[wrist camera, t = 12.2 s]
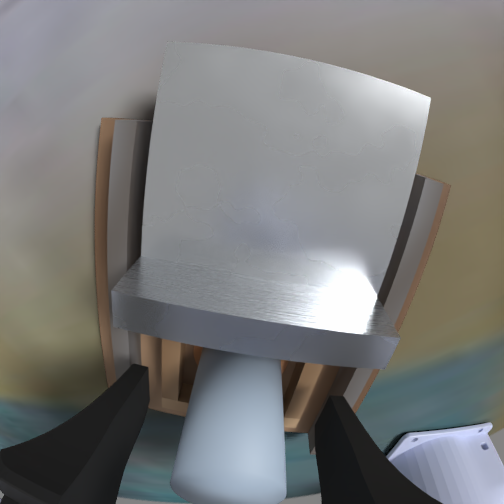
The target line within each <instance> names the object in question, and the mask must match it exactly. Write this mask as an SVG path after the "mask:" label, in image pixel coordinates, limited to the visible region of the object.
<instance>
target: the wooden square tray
mask: <svg viewBox="0 0 504 504" xmlns="http://www.w3.org/2000/svg"><path fill="white" fill-rule="evenodd" d="M152 125H153V121H151V120H138V119H123V118H102V119H101V127H100V137H99V147H98V159H97V173H96V192H95V269H96V288H97V303H98V315H99V325H100V334H101V343H102V351H103V358H104V365H105V372H106V378H107V384H108V388H109V387H110V386H111V385H112V384H113V383H115V382H116V381H117V380H118V379H119V378H120V377H121V376H122V374H123V373H124V372H125V371H126V370H127V369H128V368H129V367H130V366H131V365H132V364H138V365H142V366H146V367H149V390H150V402H149V406H148V408H149V409H153V410H157V411H161V412H166V413H170V414H175V415H179V416H184V417H186V413H187V409H188V405H189V400H190V396H191V392H192V388H193V384H194V380H195V376H196V372H197V368H198V365H199V361H200V357H201V353H202V349H203V347H201V346H195V345H190V344H185V343H181V342H176V341H171V340H167V339H162V338H158V337H153V336H149V335H145V334H140V333H136V332H132V331H128V330H124V329H120V328H116V327H113V314H112V295H111V290H112V289H113V288H114V287H115V286H116V284H117V283H118V282H119V281H120V280H121V278H122V277H123V276H124V275H125V274H126V273H127V271H128V270H129V269H130V268H131V267H132V266H133V264H134V263H135V262H136V261H137V260H138V259H139V257H140V256H141V244H142V225H143V210H144V197H145V186H146V175H147V166H148V157H149V148H150V140H151V133H152ZM450 187H451V185H449V184H446V183H444V182H441V181H438V180H435V179H432V178H429V177H426V176H423V175H420V174H417V173H415V177H414V181H413V185H412V189H411V193H410V197H409V200H408V204H407V207H406V211H405V214H404V218H403V221H402V225H401V228H400V231H399V234H398V238H397V241H396V244H395V247H394V250H393V253H392V256H391V259H390V262H389V265H388V268H387V271H386V274H385V276H384V279H383V282H382V285H381V287H380V290H379V293H378V296H377V297H378V299H379V301H380V302H381V304H382V306H383V308H384V309H385V311H386V313H387V315H388V316H389V318H390V320H391V322H392V323H393V325H394V327H395V329H396V331H397V332H398V331H399V329H400V327H401V325H402V323H403V320H404V318H405V316H406V314H407V311H408V309H409V307H410V304H411V302H412V300H413V297H414V295H415V292H416V290H417V287H418V285H419V282H420V280H421V277H422V274H423V272H424V269H425V266H426V264H427V261H428V258H429V255H430V253H431V250H432V247H433V244H434V241H435V238H436V235H437V232H438V229H439V225H440V222H441V219H442V216H443V212H444V209H445V205H446V202H447V198H448V195H449V191H450ZM379 370H380V369H369V368H356V367H343V366H332V365H322V364H313V363H304V362H296V361H288V360H281V374H282V394H283V415H284V431H287V432H300V433H308V439H309V449H310V454H316V452H315V424H316V422H317V420H318V418H319V416H320V414H321V412H322V410H323V408H324V406H325V404H326V402H327V400H328V398H329V396H330V395H333V396H344V397H345V399H346V400H347V402H348V403H349V405H350V407H351V408H352V410H353V411H354V413H356V411H357V410H358V408H359V406H360V405H361V403H362V401H363V399H364V398H365V396H366V394H367V392H368V390H369V389H370V387H371V385H372V383H373V381H374V379H375V378H376V376H377V374H378V372H379Z"/></svg>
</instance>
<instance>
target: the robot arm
mask: <svg viewBox="0 0 504 504" xmlns="http://www.w3.org/2000/svg"><path fill="white" fill-rule="evenodd" d="M149 402H150V390H149V367H146V366H142V365H138V364H132V365H131V366H130V367H129V368H128V369H127V370H126V371H125V372H124V373H123V374H122V376H121V377H120V378H119V379H118V380H117V381H116V382H115V383H113V384H112V385H111V386H110V387H109V388H108V389H107V390H106V391H105V392H104V393H103V394H102V395H101V396H99V397H98V398H97V399H96V400H95V401H93V402H92V403H91V404H90V405H89V406H87V407H86V408H85V409H84V410H82V411H81V412H79V413H78V414H77V415H75V416H74V417H72V418H71V419H69V420H68V421H66V422H65V423H63V424H61V425H59V426H58V427H56V428H54V429H52V430H51V431H49V432H47V433H45V434H42V435H40V436H38V437H36V438H33V439H31V440H29V441H26V442H24V443H21V444H18V445H15V446H11V447H8V448H5V449H1V451H0V490H1V491H2V493H4V496H3V498H2V499H1V498H0V504H116V500H117V495H118V491H119V487H120V483H121V480H122V476H123V472H124V469H125V466H126V464H127V461H128V459H129V456H130V454H131V451H132V449H133V447H134V444H135V442H136V439H137V437H138V435H139V432H140V430H141V427H142V425H143V423H144V420H145V416H146V413H147V409H148V406H149ZM491 428H492V424H491V423H484V424H478V425H472V426H466V427H459V428H452V429H444V430H435V431H425V432H413V433H407V434H405V435H404V436H403V437H402V438H401V439H400V440H399V441H398V443H397V444H396V445H395V446H394V448H393V449H392V450H391V451H390V452H389V454H388V455H387V456H385V455H384V454H383V453H382V451H381V450H380V449H379V448H378V446H377V445H376V444H375V442H374V441H373V440H372V438H371V437H370V436H369V434H368V433H367V431H366V430H365V428H364V427H363V425H362V424H361V422H360V421H359V419H358V418H357V416H356V415H355V413H354V411H353V410H352V408H351V407H350V405H349V403H348V402H347V400H346V399H345V397H344V396H333V395H330V396H329V398H328V400H327V402H326V404H325V406H324V408H323V410H322V412H321V414H320V416H319V418H318V420H317V422H316V424H315V452H316V459H317V466H318V473H319V480H320V487H321V497H322V504H504V466H503V464H502V462H501V460H500V458H499V455H498V453H497V451H496V449H495V447H494V445H493V444H492V441H491V439H490V437H489V436H488V434H487V433H488V432H489V431H490V430H491Z"/></svg>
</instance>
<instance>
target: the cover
mask: <svg viewBox="0 0 504 504" xmlns="http://www.w3.org/2000/svg"><path fill="white" fill-rule="evenodd" d="M430 100H431V98H430V97H427V96H425V95H422V94H420V93H417V92H415V91H412V90H409V89H407V88H404V87H401V86H399V85H396V84H393V83H390V82H387V81H384V80H381V79H378V78H375V77H372V76H369V75H366V74H362V73H359V72H356V71H352V70H349V69H345V68H342V67H338V66H334V65H330V64H326V63H322V62H318V61H314V60H309V59H305V58H300V57H296V56H291V55H285V54H280V53H275V52H269V51H263V50H256V49H250V48H242V47H234V46H226V45H216V44H205V43H191V42H169V41H167V46H166V51H165V55H164V60H163V65H162V71H161V76H160V81H159V87H158V93H157V99H156V105H155V112H154V118H153V125H152V133H151V140H150V148H149V157H148V166H147V175H146V186H145V197H144V210H143V225H142V244H141V256H140V257H139V259H138V260H137V261H136V262H135V263H134V264H133V266H132V267H131V268H130V269H129V270H128V271H127V273H126V274H125V275H124V276H123V277H122V278H121V280H120V281H119V282H118V283H117V284H116V286H115V287H114V288H113V289H112V290H111V295H112V314H113V327H116V328H120V329H124V330H128V331H132V332H136V333H140V334H145V335H149V336H153V337H158V338H162V339H167V340H171V341H176V342H181V343H185V344H190V345H195V346H201V347H206V348H211V349H217V350H222V351H228V352H234V353H240V354H246V355H252V356H259V357H266V358H273V359H280V360H288V361H296V362H304V363H313V364H322V365H332V366H343V367H356V368H369V369H385V368H386V366H387V364H388V362H389V360H390V358H391V356H392V354H393V352H394V350H395V348H396V346H397V344H398V342H399V340H400V336H399V334H398V332H397V331H396V329H395V327H394V325H393V323H392V322H391V320H390V318H389V316H388V315H387V313H386V311H385V309H384V308H383V306H382V304H381V302H380V301H379V299H378V297H377V296H378V293H379V290H380V287H381V285H382V282H383V279H384V276H385V274H386V271H387V268H388V265H389V262H390V259H391V256H392V253H393V250H394V247H395V244H396V241H397V238H398V234H399V231H400V228H401V225H402V221H403V218H404V214H405V211H406V207H407V204H408V200H409V197H410V193H411V189H412V185H413V181H414V177H415V173H416V169H417V165H418V161H419V156H420V152H421V147H422V143H423V138H424V133H425V128H426V123H427V117H428V112H429V106H430Z"/></svg>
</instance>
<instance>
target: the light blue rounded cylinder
mask: <svg viewBox="0 0 504 504" xmlns="http://www.w3.org/2000/svg"><path fill="white" fill-rule="evenodd" d="M170 486H171V488H172V490H173V491H174V492H175V493H176V494H177V495H178V496H180V497H181V498H183V499H184V500H186V501H188V502H191V503H193V504H279V503H280V502H282V501H283V500H284V498H285V497H286V464H285V438H284V415H283V394H282V374H281V360H280V359H273V358H266V357H259V356H252V355H246V354H240V353H234V352H228V351H222V350H217V349H211V348H206V347H203V349H202V353H201V357H200V361H199V365H198V368H197V372H196V376H195V380H194V384H193V388H192V392H191V396H190V400H189V405H188V409H187V413H186V417H185V421H184V425H183V429H182V433H181V438H180V442H179V446H178V450H177V454H176V459H175V463H174V467H173V472H172V476H171V480H170Z"/></svg>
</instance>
